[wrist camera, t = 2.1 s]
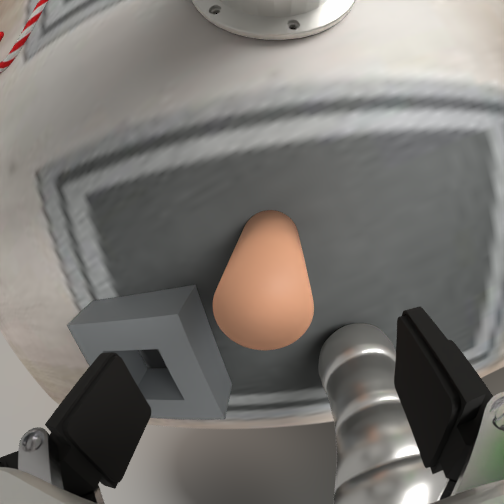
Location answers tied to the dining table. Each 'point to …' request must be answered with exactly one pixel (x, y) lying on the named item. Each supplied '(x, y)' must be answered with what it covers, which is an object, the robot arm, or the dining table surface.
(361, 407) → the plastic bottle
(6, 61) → the candy cane
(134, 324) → the socket block
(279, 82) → the dining table surface
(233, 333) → the peg
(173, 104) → the dining table surface
